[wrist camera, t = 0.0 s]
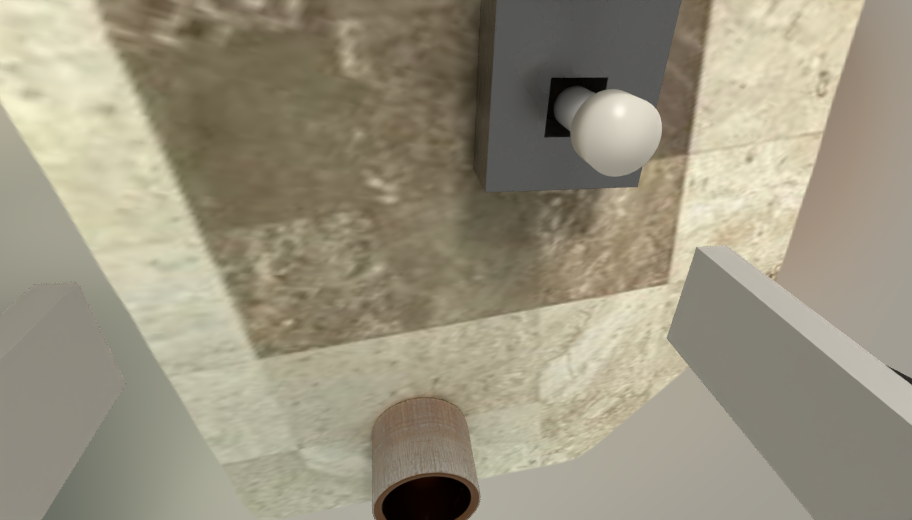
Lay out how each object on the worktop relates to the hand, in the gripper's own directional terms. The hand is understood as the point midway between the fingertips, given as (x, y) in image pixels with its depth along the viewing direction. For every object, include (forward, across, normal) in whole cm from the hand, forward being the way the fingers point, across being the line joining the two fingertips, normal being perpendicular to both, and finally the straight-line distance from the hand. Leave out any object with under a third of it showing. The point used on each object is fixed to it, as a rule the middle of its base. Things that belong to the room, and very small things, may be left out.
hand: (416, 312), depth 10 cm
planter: (+28, +2, -38) cm, 47 cm away
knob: (+23, +13, -1) cm, 27 cm away
